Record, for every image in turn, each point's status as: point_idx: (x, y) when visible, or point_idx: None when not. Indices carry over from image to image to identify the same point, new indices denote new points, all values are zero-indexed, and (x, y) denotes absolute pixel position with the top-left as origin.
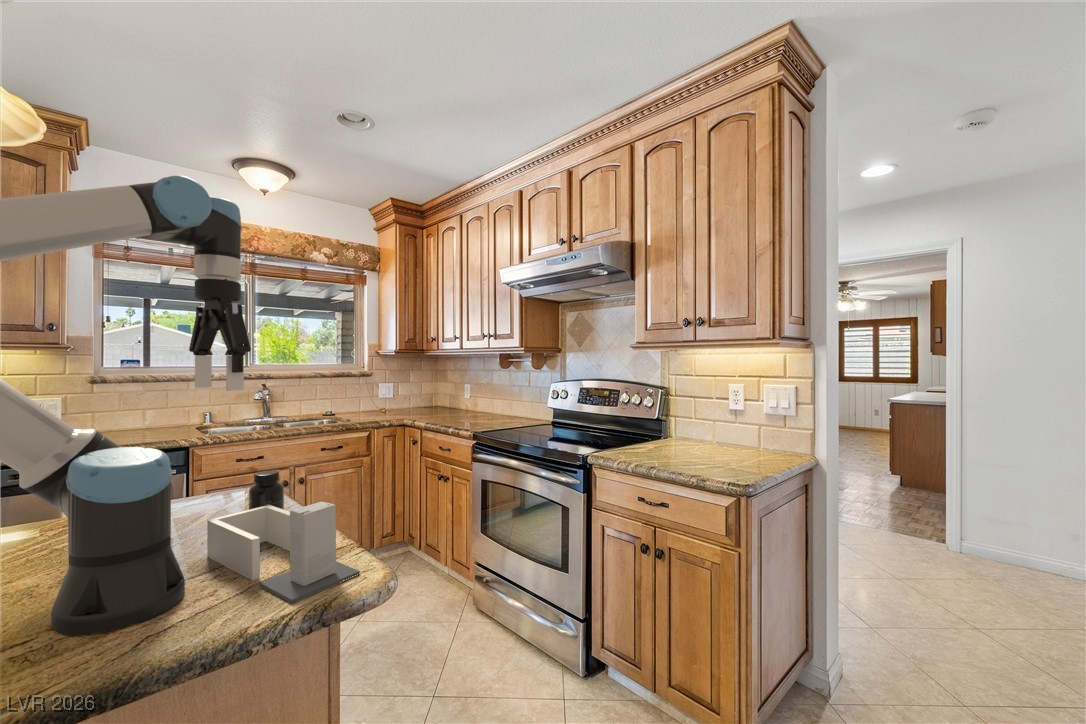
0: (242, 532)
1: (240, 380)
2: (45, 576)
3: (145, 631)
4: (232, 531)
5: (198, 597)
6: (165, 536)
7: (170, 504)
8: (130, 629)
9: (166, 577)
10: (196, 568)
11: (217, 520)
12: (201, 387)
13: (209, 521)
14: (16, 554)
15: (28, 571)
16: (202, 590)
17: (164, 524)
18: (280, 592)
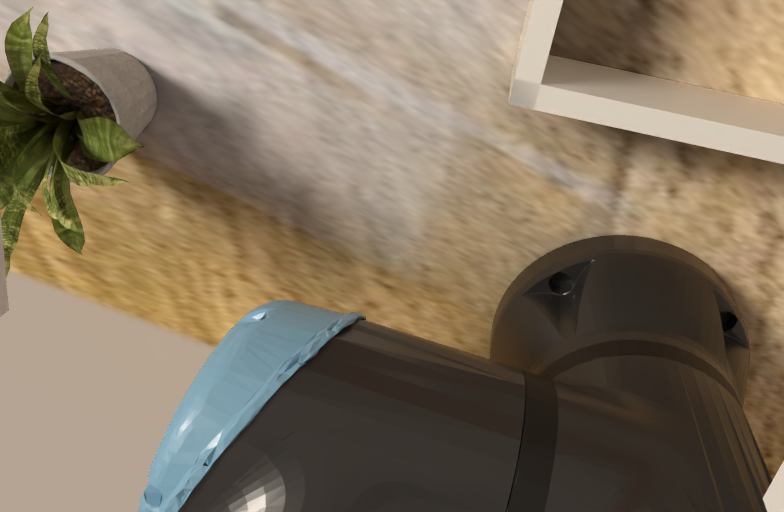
0: (780, 147)
1: None
2: (241, 304)
3: (777, 386)
4: (726, 151)
5: (753, 256)
6: (743, 414)
7: (728, 438)
8: None
9: (743, 359)
10: (566, 141)
11: (551, 91)
12: (2, 265)
13: (526, 107)
14: None
15: (169, 301)
16: (726, 227)
17: (757, 445)
18: None
